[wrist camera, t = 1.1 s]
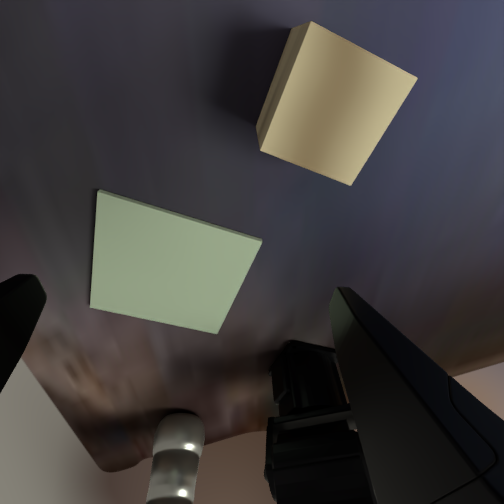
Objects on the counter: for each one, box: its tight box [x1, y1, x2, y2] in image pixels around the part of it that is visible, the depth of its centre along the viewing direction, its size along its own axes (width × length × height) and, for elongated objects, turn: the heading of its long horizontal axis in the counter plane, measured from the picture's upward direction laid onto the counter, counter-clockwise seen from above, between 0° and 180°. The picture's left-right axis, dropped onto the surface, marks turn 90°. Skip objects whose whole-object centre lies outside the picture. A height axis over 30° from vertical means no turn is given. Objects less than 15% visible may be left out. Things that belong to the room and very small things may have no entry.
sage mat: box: [90, 190, 262, 334], centre depth 24 cm, size 12×12×1 cm
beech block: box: [256, 21, 418, 186], centre depth 14 cm, size 5×5×5 cm
